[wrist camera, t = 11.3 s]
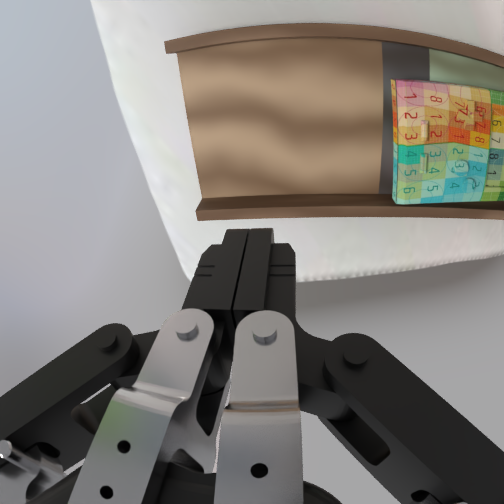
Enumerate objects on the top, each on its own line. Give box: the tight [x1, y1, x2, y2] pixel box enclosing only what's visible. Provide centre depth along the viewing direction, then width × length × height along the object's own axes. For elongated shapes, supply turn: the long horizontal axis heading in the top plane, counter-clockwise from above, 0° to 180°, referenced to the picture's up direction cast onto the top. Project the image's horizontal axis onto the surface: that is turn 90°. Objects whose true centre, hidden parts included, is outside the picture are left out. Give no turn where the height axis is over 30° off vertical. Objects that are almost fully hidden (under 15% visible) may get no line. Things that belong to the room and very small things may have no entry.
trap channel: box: [164, 23, 504, 221], centre depth 24 cm, size 18×40×3 cm, turn 96°
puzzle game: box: [391, 79, 504, 204], centre depth 22 cm, size 12×5×20 cm
